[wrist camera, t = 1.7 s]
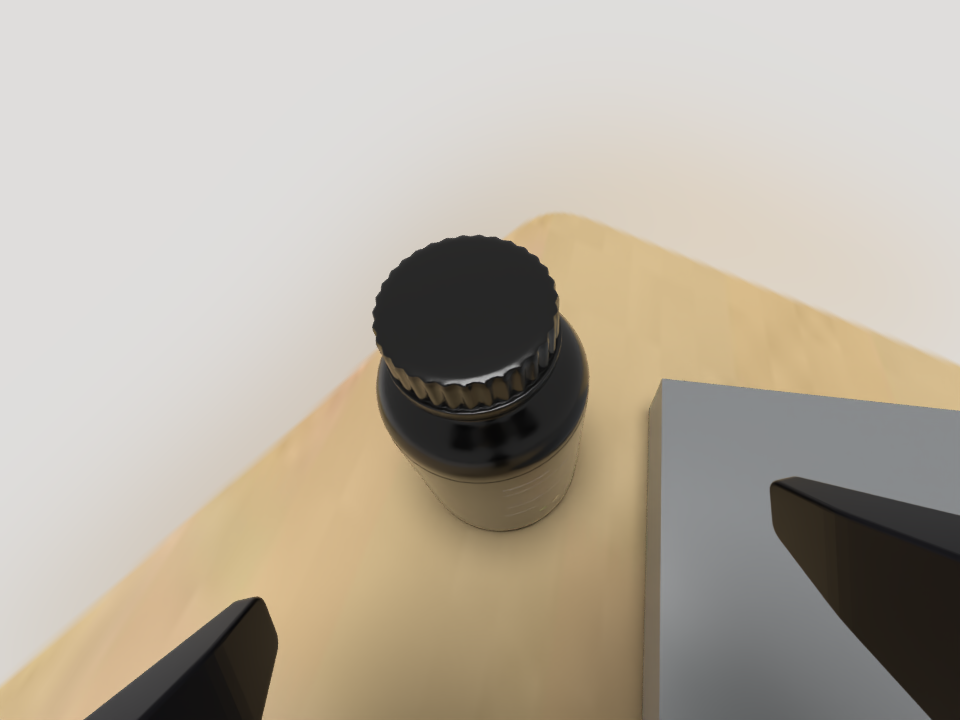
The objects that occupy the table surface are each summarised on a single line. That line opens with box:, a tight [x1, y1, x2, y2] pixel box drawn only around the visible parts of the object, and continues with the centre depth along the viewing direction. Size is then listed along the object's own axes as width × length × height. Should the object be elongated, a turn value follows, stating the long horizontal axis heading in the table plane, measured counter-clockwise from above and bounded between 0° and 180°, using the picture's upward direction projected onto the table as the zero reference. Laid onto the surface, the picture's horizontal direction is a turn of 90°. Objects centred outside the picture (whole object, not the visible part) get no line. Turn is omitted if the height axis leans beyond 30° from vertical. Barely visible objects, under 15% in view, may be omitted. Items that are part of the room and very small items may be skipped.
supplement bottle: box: [372, 235, 589, 531], centre depth 17 cm, size 7×7×12 cm
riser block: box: [642, 379, 960, 720], centre depth 16 cm, size 16×13×3 cm
